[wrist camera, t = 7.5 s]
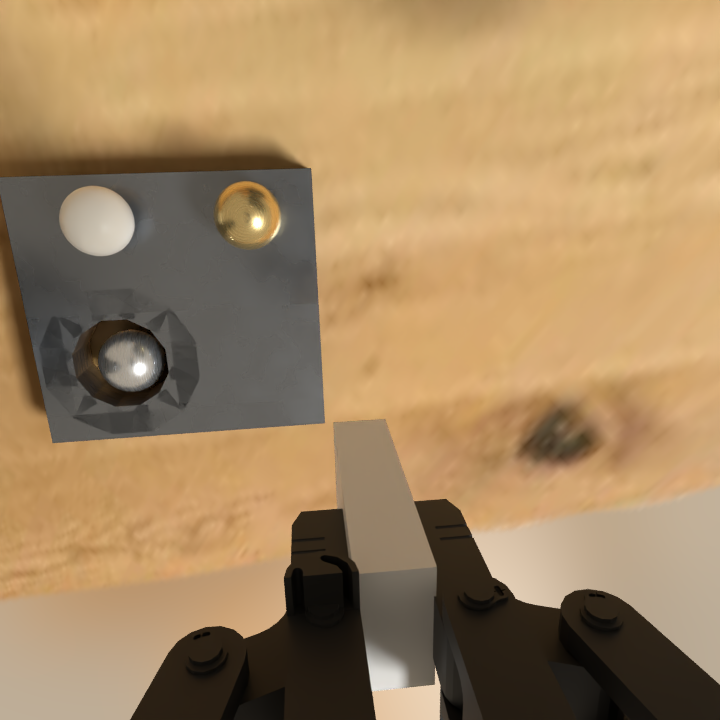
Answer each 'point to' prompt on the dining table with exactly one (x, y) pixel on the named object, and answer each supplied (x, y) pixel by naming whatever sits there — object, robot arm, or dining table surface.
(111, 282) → the plate
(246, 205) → the brass ball
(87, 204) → the white plastic ball
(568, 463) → the dining table surface
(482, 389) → the dining table surface
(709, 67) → the dining table surface
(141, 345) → the steel ball
